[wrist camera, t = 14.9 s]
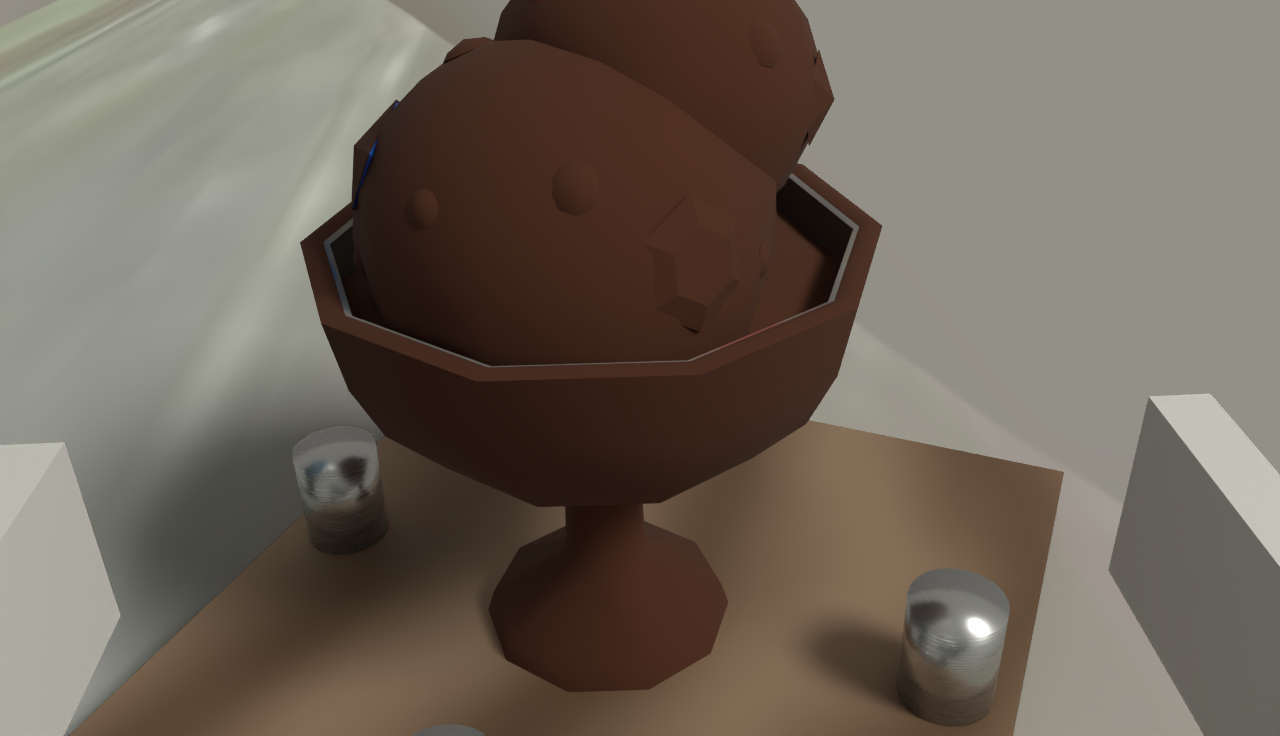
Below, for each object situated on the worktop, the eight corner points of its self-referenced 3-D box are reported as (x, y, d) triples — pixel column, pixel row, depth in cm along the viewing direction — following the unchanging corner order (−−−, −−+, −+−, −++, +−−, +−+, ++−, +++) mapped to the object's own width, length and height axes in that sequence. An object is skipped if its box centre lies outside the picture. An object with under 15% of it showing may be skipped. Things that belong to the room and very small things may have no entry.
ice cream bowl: (558, 426, 34) (521, -137, 27) (926, 567, 29) (1013, -94, 21) (268, 647, 27) (99, -45, 19) (687, 893, 21) (688, 59, 14)
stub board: (41, 817, 24) (-13, 686, 23) (476, 384, 39) (464, 281, 37) (925, 1180, 18) (952, 1043, 16) (1056, 507, 33) (1079, 392, 31)
